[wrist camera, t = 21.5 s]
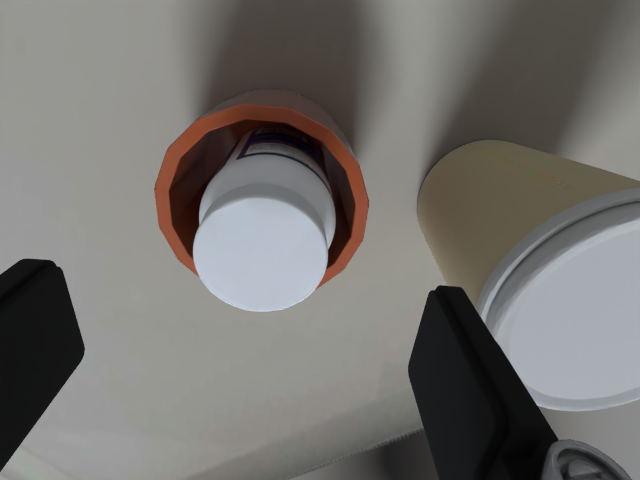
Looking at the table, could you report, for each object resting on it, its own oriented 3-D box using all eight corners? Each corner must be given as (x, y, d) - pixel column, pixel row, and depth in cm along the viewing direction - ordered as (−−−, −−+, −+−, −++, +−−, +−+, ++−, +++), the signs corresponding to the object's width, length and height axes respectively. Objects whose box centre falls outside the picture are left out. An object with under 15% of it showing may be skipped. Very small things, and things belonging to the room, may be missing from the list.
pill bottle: (269, 233, 23) (247, 347, 14) (207, 160, 21) (136, 242, 12) (345, 184, 22) (373, 276, 13) (288, 100, 19) (276, 143, 11)
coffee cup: (517, 268, 26) (668, 422, 15) (389, 256, 25) (452, 411, 14) (577, 134, 21) (846, 218, 11) (424, 114, 21) (553, 184, 10)
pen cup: (361, 96, 20) (384, 115, 14) (341, 243, 24) (353, 304, 18) (190, 80, 19) (141, 94, 14) (200, 234, 24) (167, 294, 18)
